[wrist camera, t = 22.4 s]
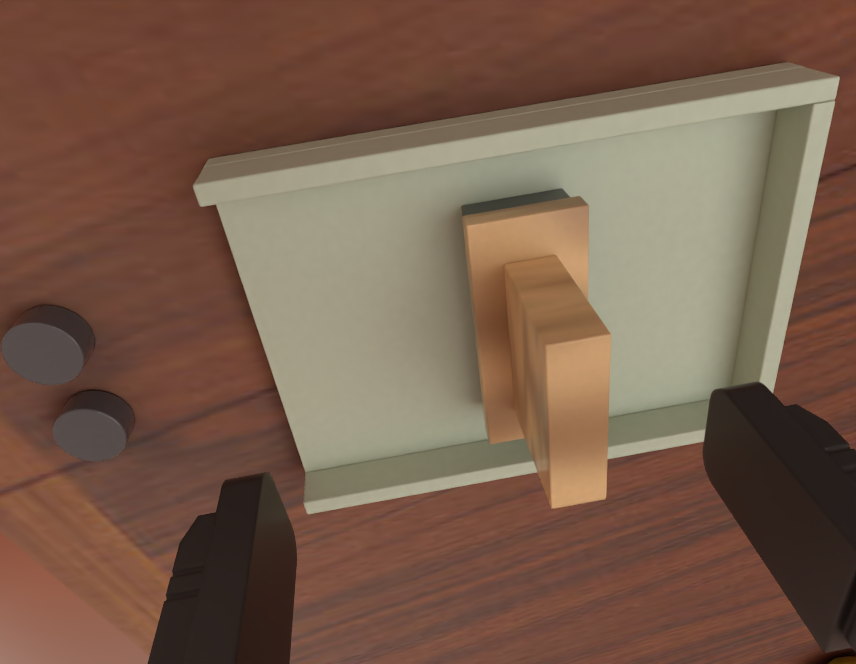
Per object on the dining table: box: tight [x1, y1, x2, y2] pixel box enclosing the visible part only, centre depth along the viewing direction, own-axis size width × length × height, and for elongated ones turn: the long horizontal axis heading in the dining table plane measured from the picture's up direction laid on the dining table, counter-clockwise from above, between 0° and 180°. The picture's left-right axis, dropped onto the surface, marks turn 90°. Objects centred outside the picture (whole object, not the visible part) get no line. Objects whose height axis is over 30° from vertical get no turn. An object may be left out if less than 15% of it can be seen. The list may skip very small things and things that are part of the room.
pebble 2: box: [53, 390, 135, 461], centre depth 28 cm, size 3×3×1 cm
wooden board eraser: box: [461, 188, 611, 509], centre depth 23 cm, size 10×4×8 cm, turn 8°
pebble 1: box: [1, 305, 95, 385], centre depth 25 cm, size 3×3×1 cm
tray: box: [193, 62, 840, 514], centre depth 26 cm, size 16×22×3 cm
